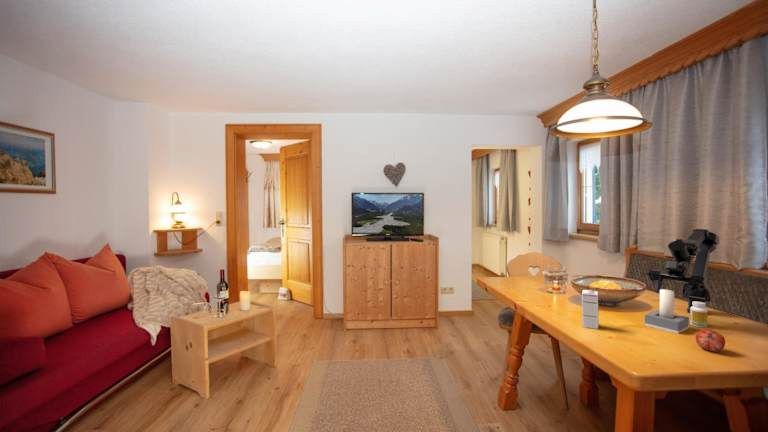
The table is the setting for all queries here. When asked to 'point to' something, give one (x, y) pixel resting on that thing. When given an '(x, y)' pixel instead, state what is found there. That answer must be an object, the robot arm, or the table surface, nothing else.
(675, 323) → the socket
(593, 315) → the syrup box
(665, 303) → the white cylinder
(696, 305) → the supplement bottle
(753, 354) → the table surface
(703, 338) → the pomegranate
